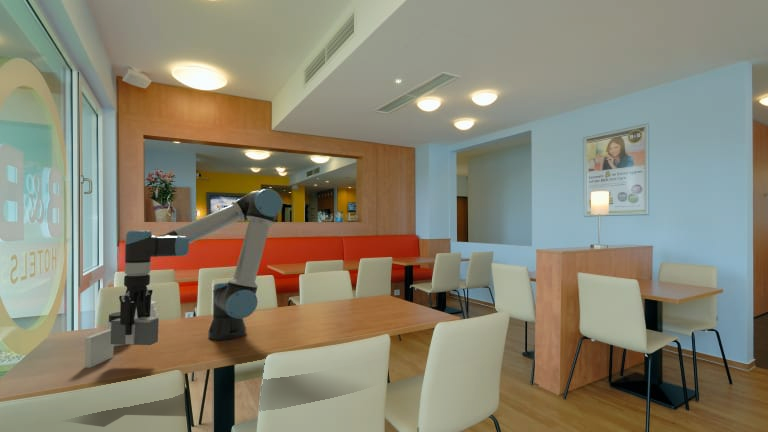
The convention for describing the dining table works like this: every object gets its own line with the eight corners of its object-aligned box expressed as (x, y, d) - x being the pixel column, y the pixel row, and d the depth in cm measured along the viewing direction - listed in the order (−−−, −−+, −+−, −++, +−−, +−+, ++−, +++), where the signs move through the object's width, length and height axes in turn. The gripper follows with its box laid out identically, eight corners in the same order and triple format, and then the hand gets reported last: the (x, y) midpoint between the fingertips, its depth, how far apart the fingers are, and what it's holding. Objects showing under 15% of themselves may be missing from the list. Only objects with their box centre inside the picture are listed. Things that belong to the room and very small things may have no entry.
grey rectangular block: (157, 341, 130) (158, 317, 130) (150, 345, 126) (150, 320, 126) (119, 340, 130) (120, 316, 131) (110, 344, 126) (111, 319, 127)
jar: (105, 348, 143) (106, 317, 143) (107, 342, 150) (108, 312, 150) (133, 344, 148) (134, 314, 148) (134, 338, 155) (134, 310, 155)
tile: (113, 357, 134) (113, 329, 134) (90, 367, 124) (91, 337, 124) (107, 356, 134) (108, 329, 134) (84, 367, 124) (84, 337, 124)
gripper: (143, 271, 138) (141, 334, 137) (107, 277, 121) (104, 349, 120) (163, 271, 137) (161, 334, 136) (130, 277, 120) (127, 350, 119)
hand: (134, 341), depth 128 cm, fingers closed on grey rectangular block, 4 cm apart
